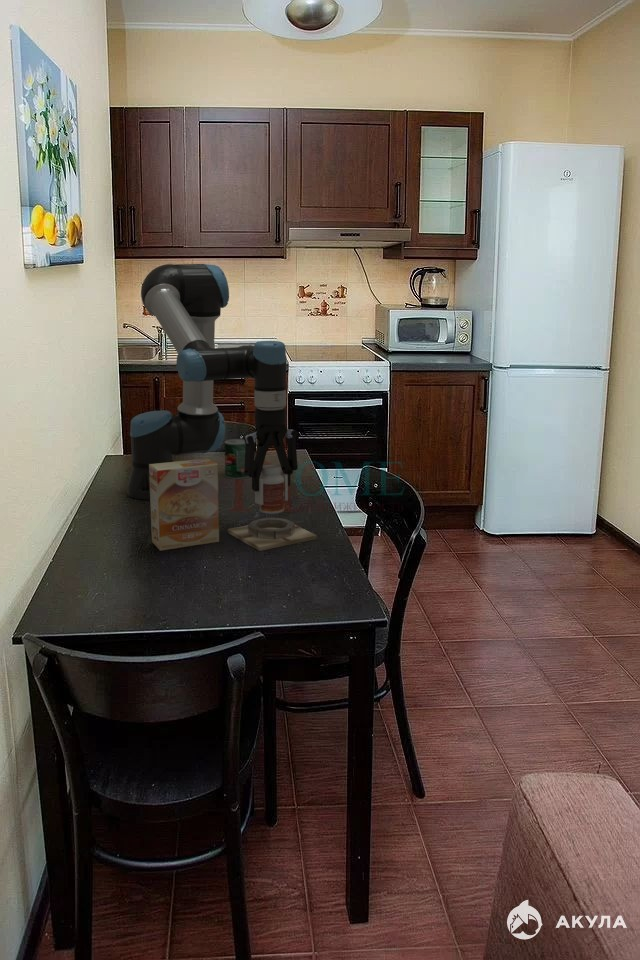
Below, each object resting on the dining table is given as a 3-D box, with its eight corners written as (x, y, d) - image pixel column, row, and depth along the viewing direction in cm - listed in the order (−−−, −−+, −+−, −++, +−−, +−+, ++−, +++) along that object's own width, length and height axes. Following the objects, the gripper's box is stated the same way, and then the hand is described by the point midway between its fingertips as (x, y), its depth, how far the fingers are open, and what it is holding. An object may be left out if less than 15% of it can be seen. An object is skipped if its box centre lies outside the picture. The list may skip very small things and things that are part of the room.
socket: (227, 532, 210) (227, 521, 210) (282, 522, 219) (282, 511, 218) (259, 551, 197) (259, 538, 197) (316, 539, 206) (316, 527, 205)
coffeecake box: (160, 551, 197) (156, 470, 192) (151, 542, 203) (147, 463, 198) (220, 542, 204) (218, 463, 199) (210, 533, 210) (208, 457, 205)
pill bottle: (289, 512, 205) (289, 467, 203) (267, 516, 202) (266, 470, 199) (276, 506, 211) (275, 462, 208) (254, 509, 207) (253, 465, 204)
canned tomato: (255, 474, 267) (254, 440, 264) (240, 480, 260) (239, 445, 257) (235, 471, 271) (234, 437, 268) (219, 476, 264) (219, 442, 261)
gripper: (242, 413, 192) (244, 511, 198) (313, 406, 202) (312, 499, 208) (227, 408, 198) (229, 503, 204) (296, 401, 208) (296, 492, 214)
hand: (271, 501), depth 206 cm, fingers closed on pill bottle, 6 cm apart
